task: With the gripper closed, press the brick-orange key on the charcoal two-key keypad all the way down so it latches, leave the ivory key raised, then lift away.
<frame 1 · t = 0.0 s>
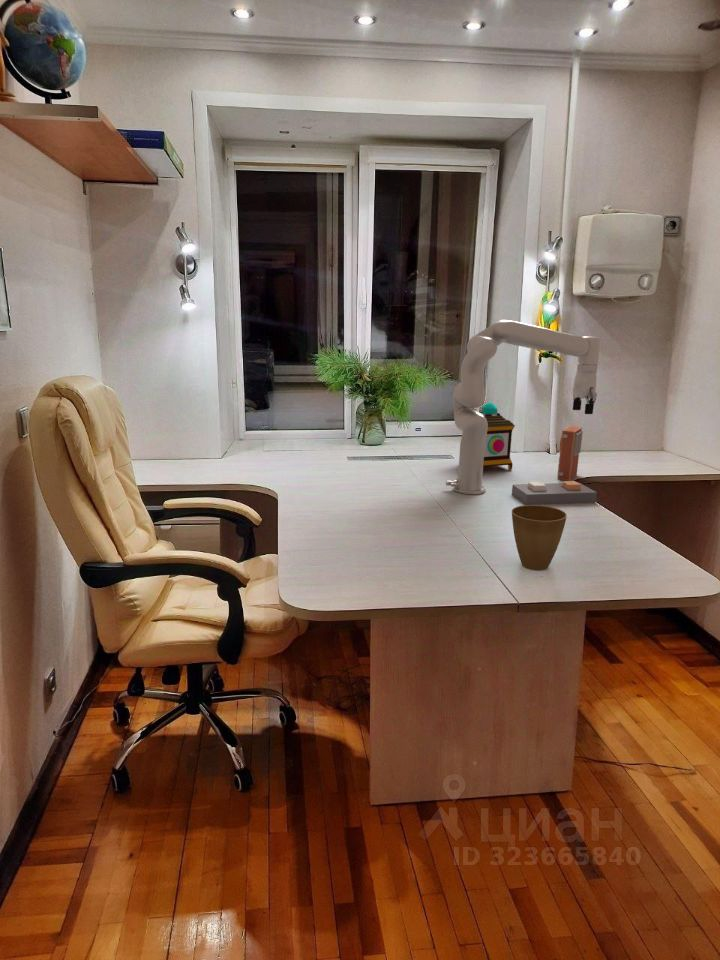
hand: (582, 412, 261), 31 cm above the table, tool pointing down, fingers open, 9 cm apart
plant pot: (533, 566, 187), on the table
ivory key: (537, 487, 251), point 4 cm above the table, slide at 0.0 cm
decorative lantern: (485, 468, 299), on the table
orange box: (567, 477, 285), on the table
orange key: (571, 486, 253), point 5 cm above the table, slide at 0.0 cm
keypad housing: (553, 498, 253), on the table
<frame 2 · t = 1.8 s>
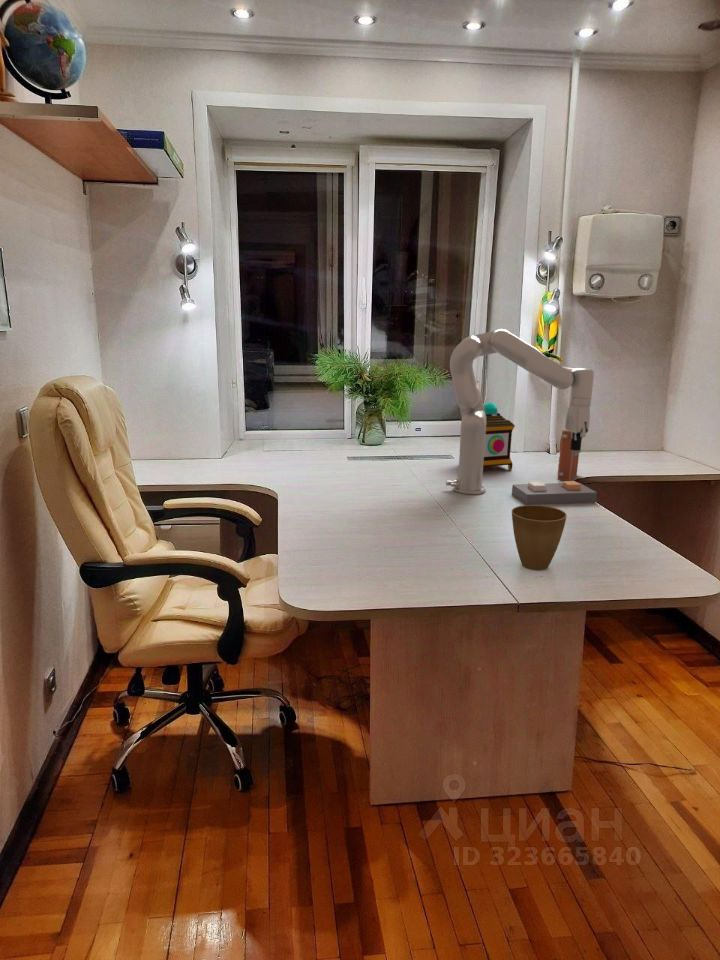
hand: (575, 449, 249), 19 cm above the table, tool pointing down, fingers closed
nothing on the table moved.
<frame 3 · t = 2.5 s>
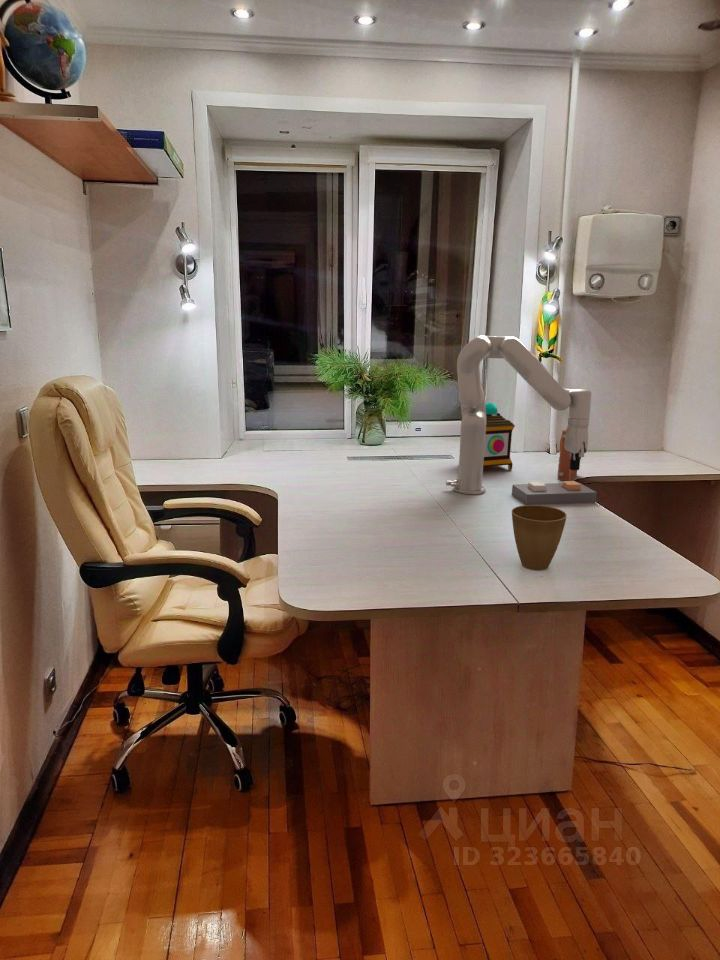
hand: (574, 469, 251), 11 cm above the table, tool pointing down, fingers closed
nothing on the table moved.
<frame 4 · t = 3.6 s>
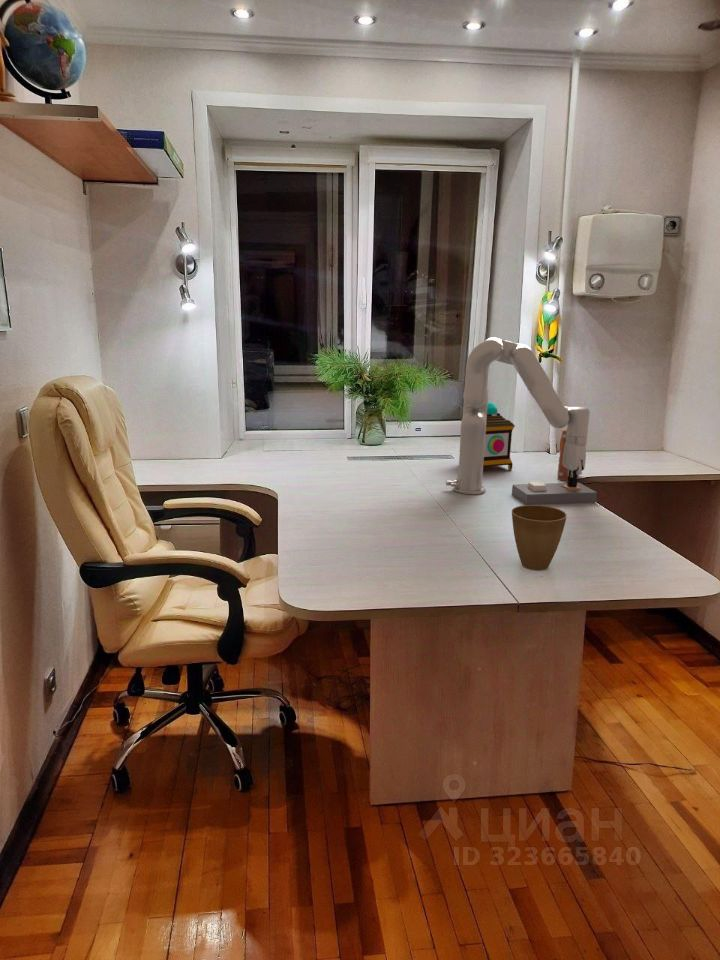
hand: (571, 486, 253), 5 cm above the table, tool pointing down, fingers closed
orange key: (570, 490, 254), point 3 cm above the table, slide at 1.4 cm, touching gripper
everything else where it was.
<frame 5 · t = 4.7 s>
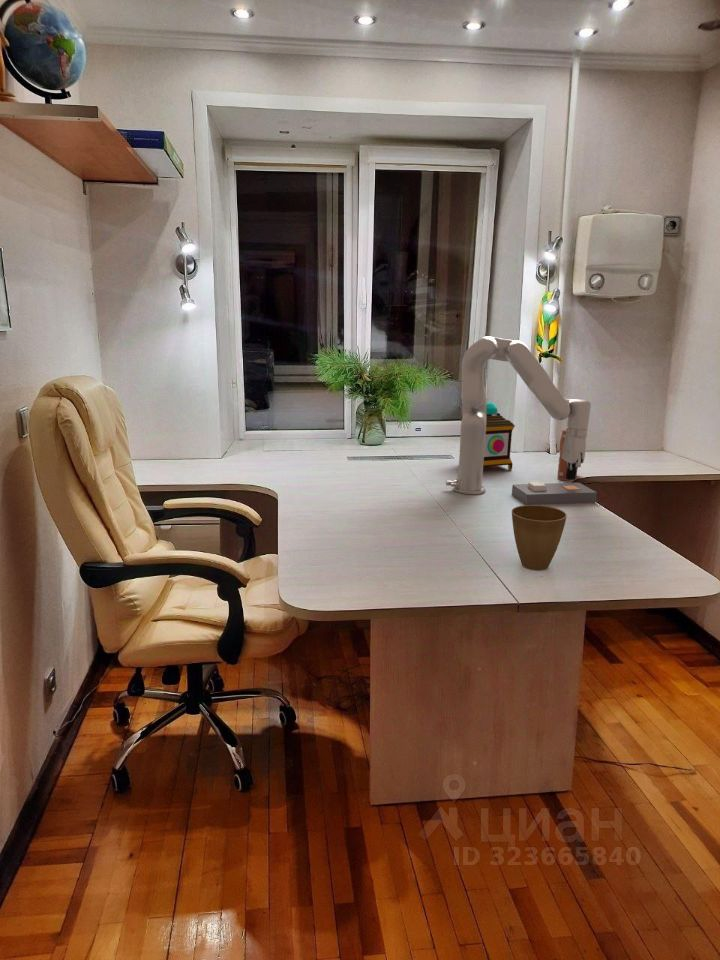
hand: (570, 479, 252), 7 cm above the table, tool pointing down, fingers closed
orange key: (570, 491, 254), point 3 cm above the table, slide at 1.8 cm
everything else where it was.
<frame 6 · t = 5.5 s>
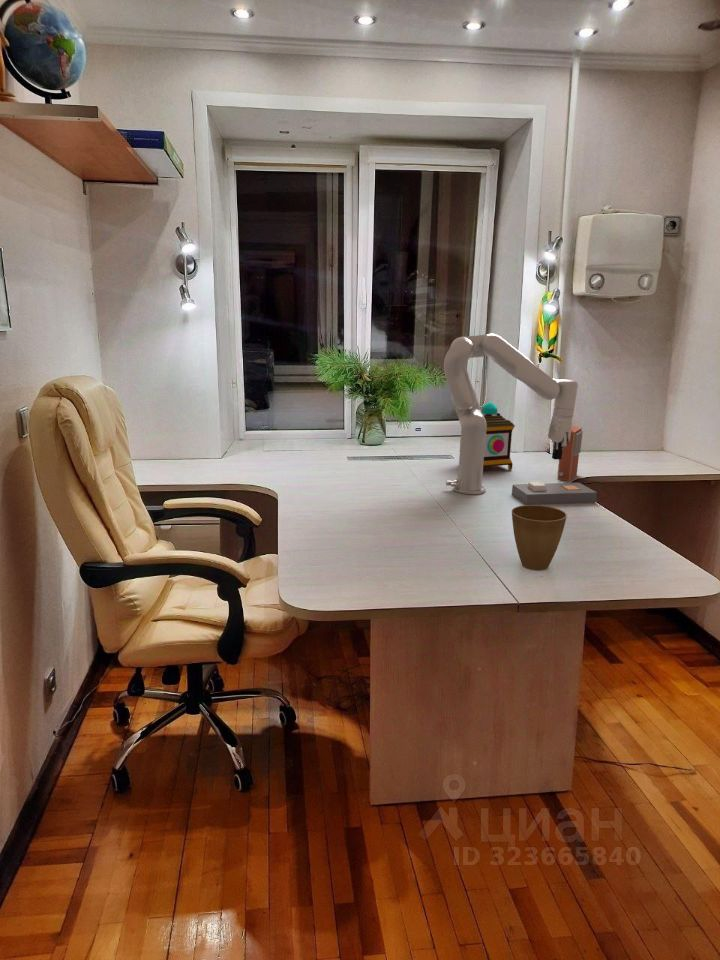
hand: (556, 458, 256), 14 cm above the table, tool pointing down, fingers closed
nothing on the table moved.
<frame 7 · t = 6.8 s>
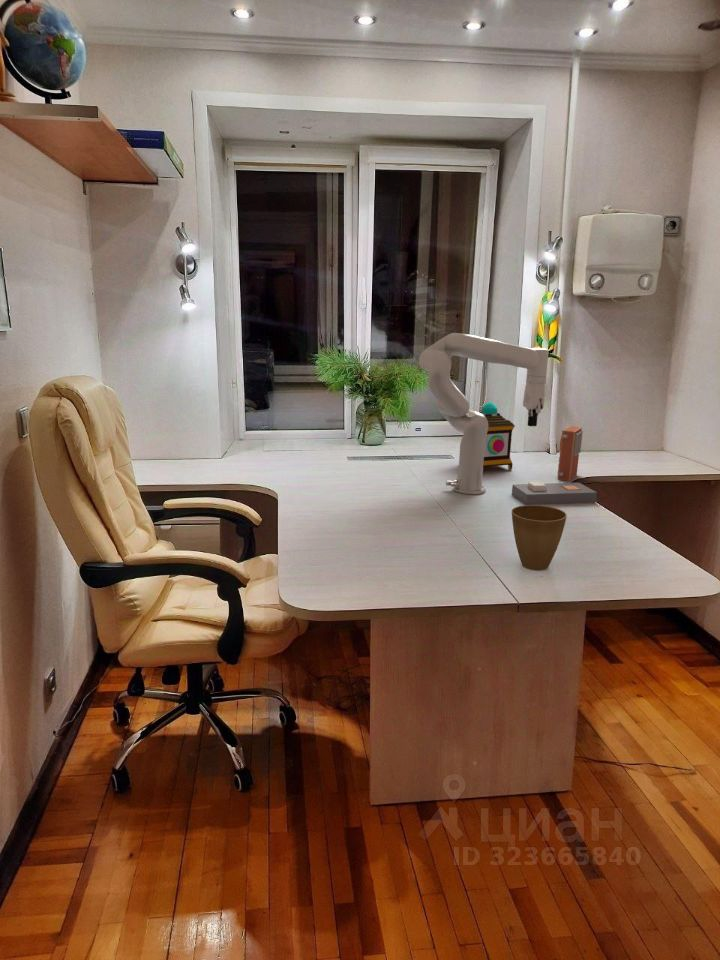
hand: (532, 425, 263), 25 cm above the table, tool pointing down, fingers closed
nothing on the table moved.
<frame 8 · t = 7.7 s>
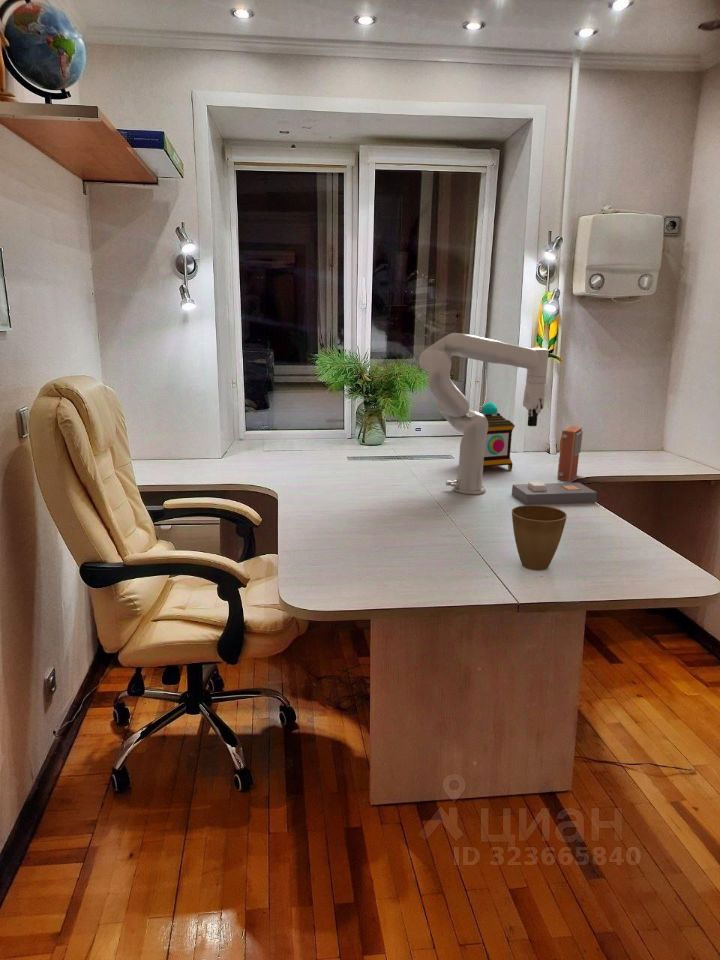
hand: (532, 425, 263), 25 cm above the table, tool pointing down, fingers closed
nothing on the table moved.
at the end: orange key slide at 1.8 cm; ivory key slide at 0.0 cm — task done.
